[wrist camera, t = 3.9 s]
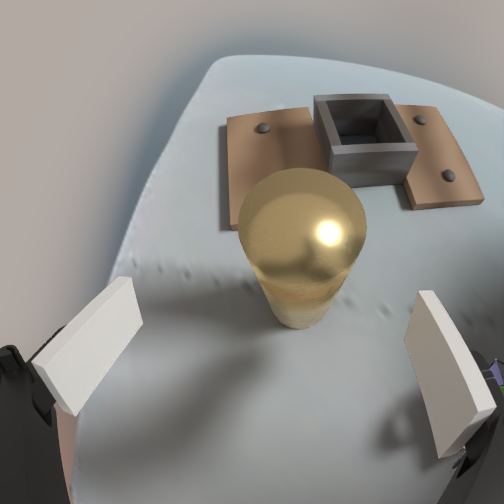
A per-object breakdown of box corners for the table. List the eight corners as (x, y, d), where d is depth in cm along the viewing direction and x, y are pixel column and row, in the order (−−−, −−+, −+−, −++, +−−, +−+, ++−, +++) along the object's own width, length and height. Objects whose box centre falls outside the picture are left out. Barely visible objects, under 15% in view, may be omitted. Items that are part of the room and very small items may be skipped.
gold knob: (324, 270, 20) (349, 163, 9) (331, 325, 19) (379, 273, 8) (268, 276, 21) (234, 176, 10) (273, 332, 19) (241, 291, 8)
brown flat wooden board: (433, 113, 24) (443, 83, 20) (479, 204, 20) (502, 177, 16) (228, 124, 27) (218, 91, 23) (233, 230, 22) (218, 200, 18)
